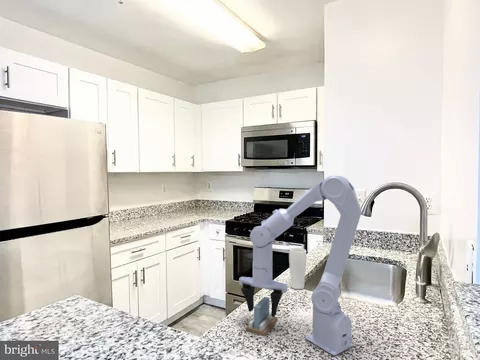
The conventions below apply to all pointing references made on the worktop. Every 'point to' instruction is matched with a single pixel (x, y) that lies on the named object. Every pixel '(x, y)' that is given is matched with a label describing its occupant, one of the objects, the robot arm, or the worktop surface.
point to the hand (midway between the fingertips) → (262, 312)
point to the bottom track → (262, 325)
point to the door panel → (261, 311)
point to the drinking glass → (297, 267)
